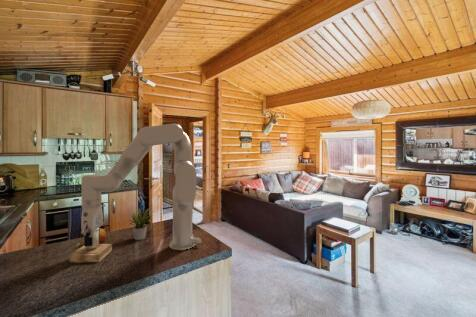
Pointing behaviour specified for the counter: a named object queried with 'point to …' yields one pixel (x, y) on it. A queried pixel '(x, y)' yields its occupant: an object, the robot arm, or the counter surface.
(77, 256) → the base
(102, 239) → the fruit
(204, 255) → the counter surface
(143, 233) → the house plant
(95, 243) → the canister
